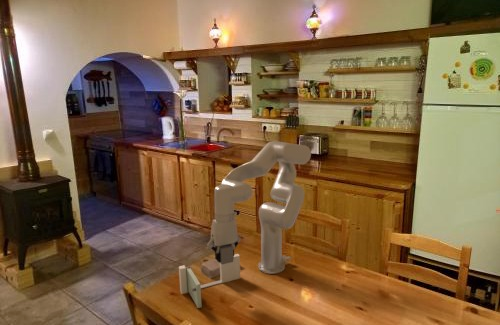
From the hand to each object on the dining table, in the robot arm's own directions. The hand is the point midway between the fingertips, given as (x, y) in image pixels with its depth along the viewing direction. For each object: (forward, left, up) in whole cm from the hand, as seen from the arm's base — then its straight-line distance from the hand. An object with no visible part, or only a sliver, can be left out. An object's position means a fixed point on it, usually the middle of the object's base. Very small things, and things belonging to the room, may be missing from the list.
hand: (224, 258), depth 145 cm
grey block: (0, 0, -1) cm, 1 cm away
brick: (-5, -20, -17) cm, 27 cm away
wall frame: (+3, -10, -16) cm, 19 cm away
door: (+13, -3, -15) cm, 21 cm away
